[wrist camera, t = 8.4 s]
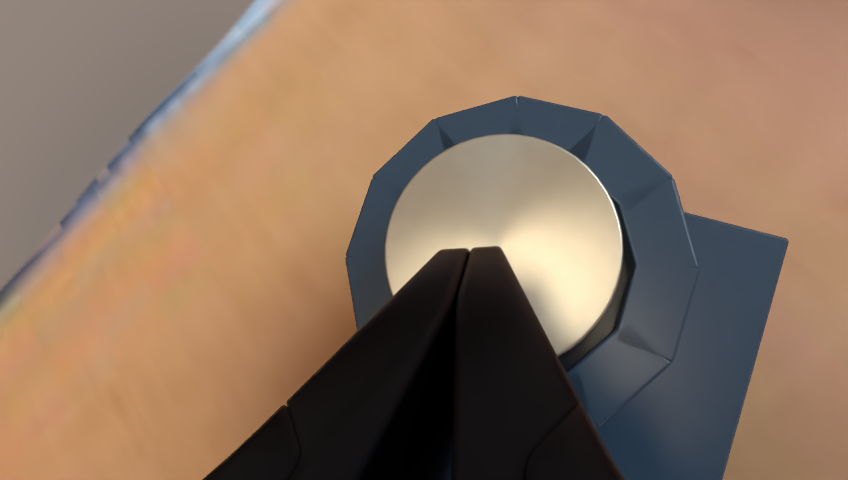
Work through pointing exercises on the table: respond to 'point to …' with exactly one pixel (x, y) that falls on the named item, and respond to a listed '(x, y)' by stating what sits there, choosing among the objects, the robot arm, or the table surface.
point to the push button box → (623, 292)
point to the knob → (516, 226)
